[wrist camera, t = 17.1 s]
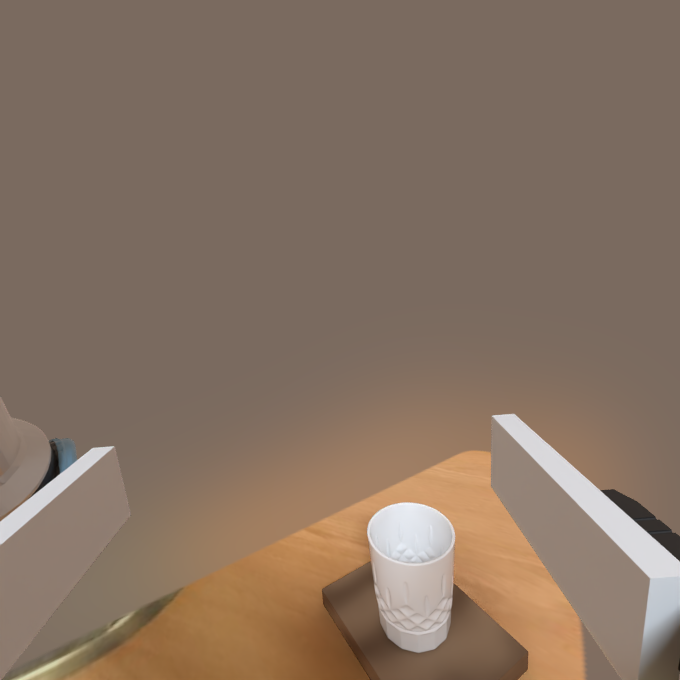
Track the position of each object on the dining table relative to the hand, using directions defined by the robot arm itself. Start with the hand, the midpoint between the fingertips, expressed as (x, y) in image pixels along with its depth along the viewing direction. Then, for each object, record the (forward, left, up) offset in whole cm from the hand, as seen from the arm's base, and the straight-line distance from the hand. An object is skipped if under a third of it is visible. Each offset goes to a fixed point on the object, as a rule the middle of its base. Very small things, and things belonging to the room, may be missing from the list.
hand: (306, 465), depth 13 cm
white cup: (-12, +14, -28) cm, 34 cm away
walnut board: (-12, +14, -30) cm, 35 cm away
